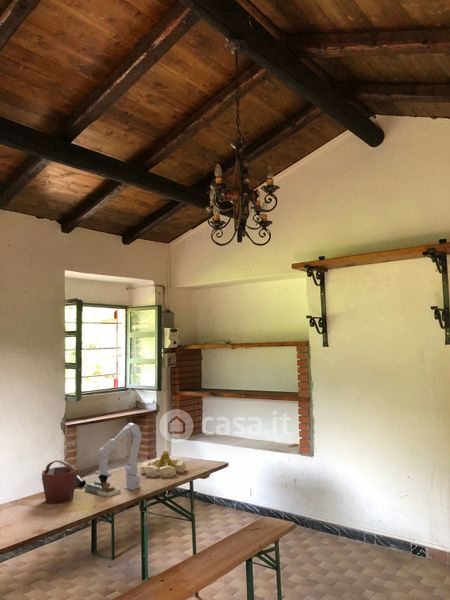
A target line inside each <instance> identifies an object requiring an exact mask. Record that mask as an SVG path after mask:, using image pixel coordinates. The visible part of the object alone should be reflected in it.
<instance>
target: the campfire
mask: <svg viewBox="0 0 450 600" xmlns="http://www.w3.org/2000/svg"><path fill="white" fill-rule="evenodd" d="M187 467H188V466H187V464H186V462H185V461H180V459H179V458H170V454H169V451H168V450H164V451H163V452H162V453H161V454H160V457H159V458H155V459H153V460H152V461H150V462H148V461H147V462H143V463H142V464H141V466H140V468H139V470H140V472H141V474H142V475H145V476H146V477H147V478H155V477H159V475H160V476H161V477H162V478H173V477H174V476H175V475H177V473H178V474H180V473H181V474H182V473H184V472H185V471H186V468H187Z"/></svg>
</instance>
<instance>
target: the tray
mask: <svg viewBox="0 0 450 600" xmlns="http://www.w3.org/2000/svg"><path fill="white" fill-rule="evenodd" d="M97 494H98V496H102V497H106V498H110V497H113V496H115V495H118V494H121V489H120V488H119V487H114V491H112V492H108V493H106V492H105V491H103V492H102V491H98V490H97ZM97 494H96V495H97Z"/></svg>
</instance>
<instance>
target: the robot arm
mask: <svg viewBox="0 0 450 600" xmlns="http://www.w3.org/2000/svg"><path fill="white" fill-rule="evenodd" d="M140 428H141V427H139V425H138V424H136V423H133V422H129V423H127V424H126V425H124V427H123V428H122V429H121V430H120V432H119V433H118V434H117V435H116V436H115V437H114V438H110V439H108V440H107V442H106V443H105V444H104V445H103V446H102V447H100V448H99V450H98V452H97V454H98V455H99V458H98V463H99V464H98V470H95V475H98V478H99V482H101V485H102V483H103V482H106V481H107V482H108V478H111V477H112V473H111V472H109V471H108V469H109V465H108V463H109V459H108V457H109V453H110V452H111V451H112V450H113V449H115V447H116V446H117V444H118V442H119V441H120V440H121V439H122V438H123V437H124V436H126V435H130V434H131V435H132V437H133V439H132V445H131V449H130V455H129V460H128V461H127V463H126V465H125V467H124V469H125V472H126V473H125V477H126V478H125V481H126V483H125V484H126V485H125V486H123V489H126V490H127V489H128V490H131V491H133V490H136V489H139V488H141V487H142V486H141V479H140V478H141V477H140V476H139V475H138V474H137V473H138V469H139V468H138V456H139V451H140V450H139V449H140V446H141V441H142V433H141V429H140Z"/></svg>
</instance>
